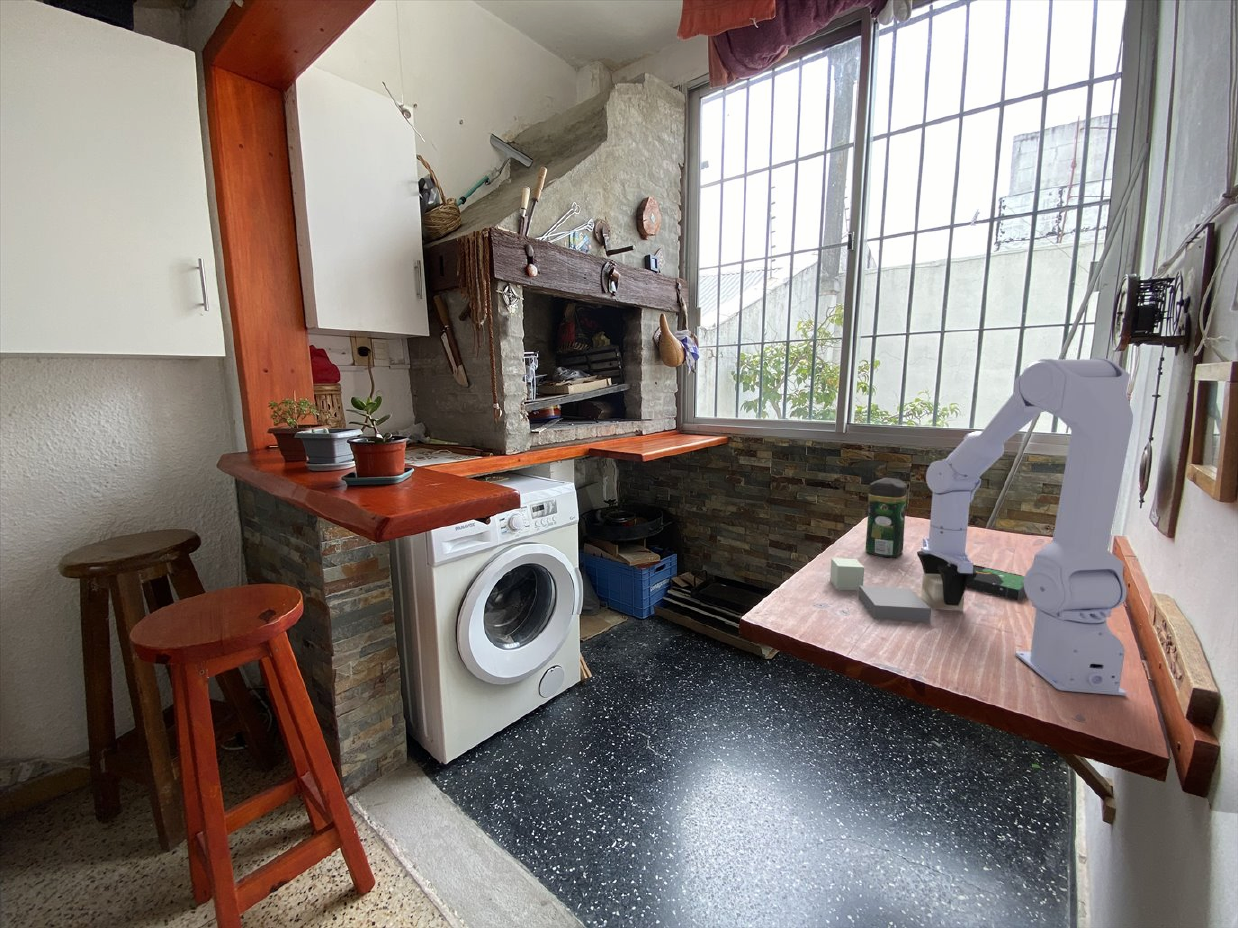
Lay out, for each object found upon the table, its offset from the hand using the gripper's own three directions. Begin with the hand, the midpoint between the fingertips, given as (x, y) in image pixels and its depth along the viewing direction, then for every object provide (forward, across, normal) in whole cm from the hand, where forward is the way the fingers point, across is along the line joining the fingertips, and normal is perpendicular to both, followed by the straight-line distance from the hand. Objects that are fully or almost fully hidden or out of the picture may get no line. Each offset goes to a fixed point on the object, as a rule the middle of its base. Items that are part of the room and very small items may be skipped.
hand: (942, 596), depth 92 cm
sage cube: (+2, -7, -15) cm, 17 cm away
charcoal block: (+2, +4, -10) cm, 11 cm away
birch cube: (+2, 0, 0) cm, 2 cm away
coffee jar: (+2, -31, 0) cm, 31 cm away
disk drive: (+2, -12, +13) cm, 18 cm away
